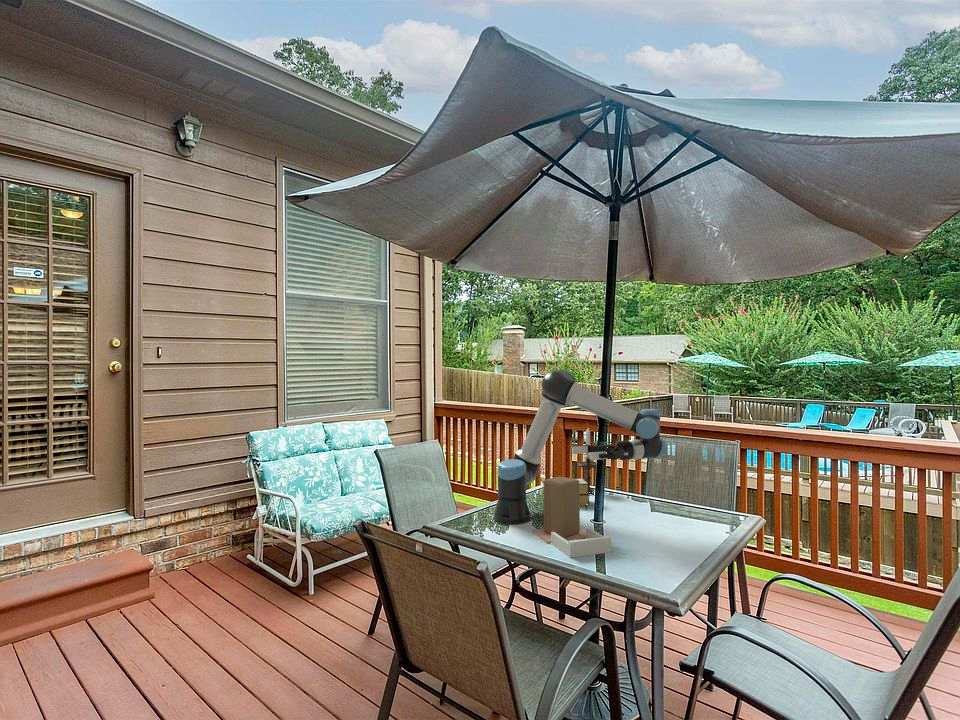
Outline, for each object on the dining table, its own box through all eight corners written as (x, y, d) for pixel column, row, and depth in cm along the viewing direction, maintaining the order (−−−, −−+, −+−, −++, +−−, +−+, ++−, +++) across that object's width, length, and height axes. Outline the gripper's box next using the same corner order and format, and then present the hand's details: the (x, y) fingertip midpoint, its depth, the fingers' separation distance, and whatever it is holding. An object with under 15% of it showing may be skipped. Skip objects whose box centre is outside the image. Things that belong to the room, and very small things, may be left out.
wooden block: (560, 526, 205) (559, 475, 205) (580, 533, 198) (580, 479, 198) (542, 532, 199) (542, 479, 199) (563, 539, 191) (563, 483, 191)
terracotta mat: (547, 543, 189) (547, 541, 189) (531, 531, 202) (531, 529, 202) (591, 537, 195) (591, 535, 195) (573, 526, 208) (573, 524, 208)
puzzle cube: (561, 500, 246) (561, 478, 246) (583, 499, 247) (582, 478, 247) (566, 506, 236) (566, 484, 236) (588, 505, 237) (588, 483, 237)
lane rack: (610, 552, 180) (610, 537, 180) (570, 557, 175) (570, 542, 175) (589, 538, 194) (589, 524, 194) (551, 543, 189) (550, 529, 189)
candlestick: (583, 496, 253) (583, 423, 253) (573, 491, 263) (572, 420, 263) (603, 494, 256) (603, 422, 256) (593, 489, 266) (592, 419, 266)
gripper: (648, 465, 196) (598, 469, 189) (611, 454, 220) (565, 457, 213) (648, 445, 196) (598, 448, 189) (611, 436, 220) (565, 438, 213)
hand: (580, 453), depth 201 cm, fingers open, 13 cm apart
